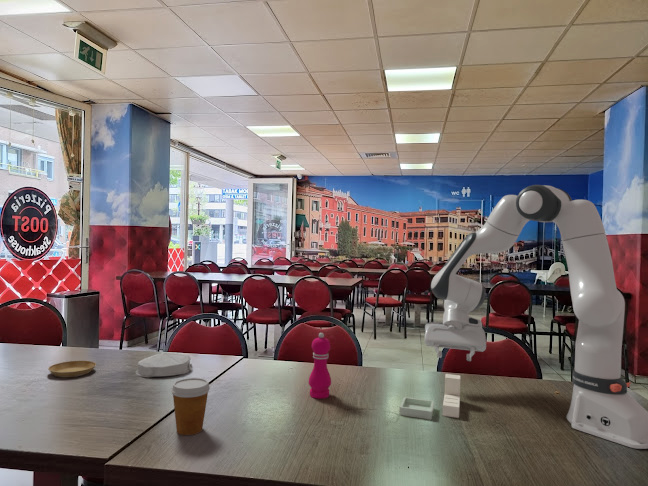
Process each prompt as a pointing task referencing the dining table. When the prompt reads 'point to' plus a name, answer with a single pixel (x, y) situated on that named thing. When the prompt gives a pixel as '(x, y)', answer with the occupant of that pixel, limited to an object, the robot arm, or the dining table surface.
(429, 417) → the stub tray
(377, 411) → the dining table surface
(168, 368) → the food container
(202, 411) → the disposable coffee cup
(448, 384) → the stub
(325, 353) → the pepper mill
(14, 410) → the dining table surface
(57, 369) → the plant saucer
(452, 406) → the white grooved block
